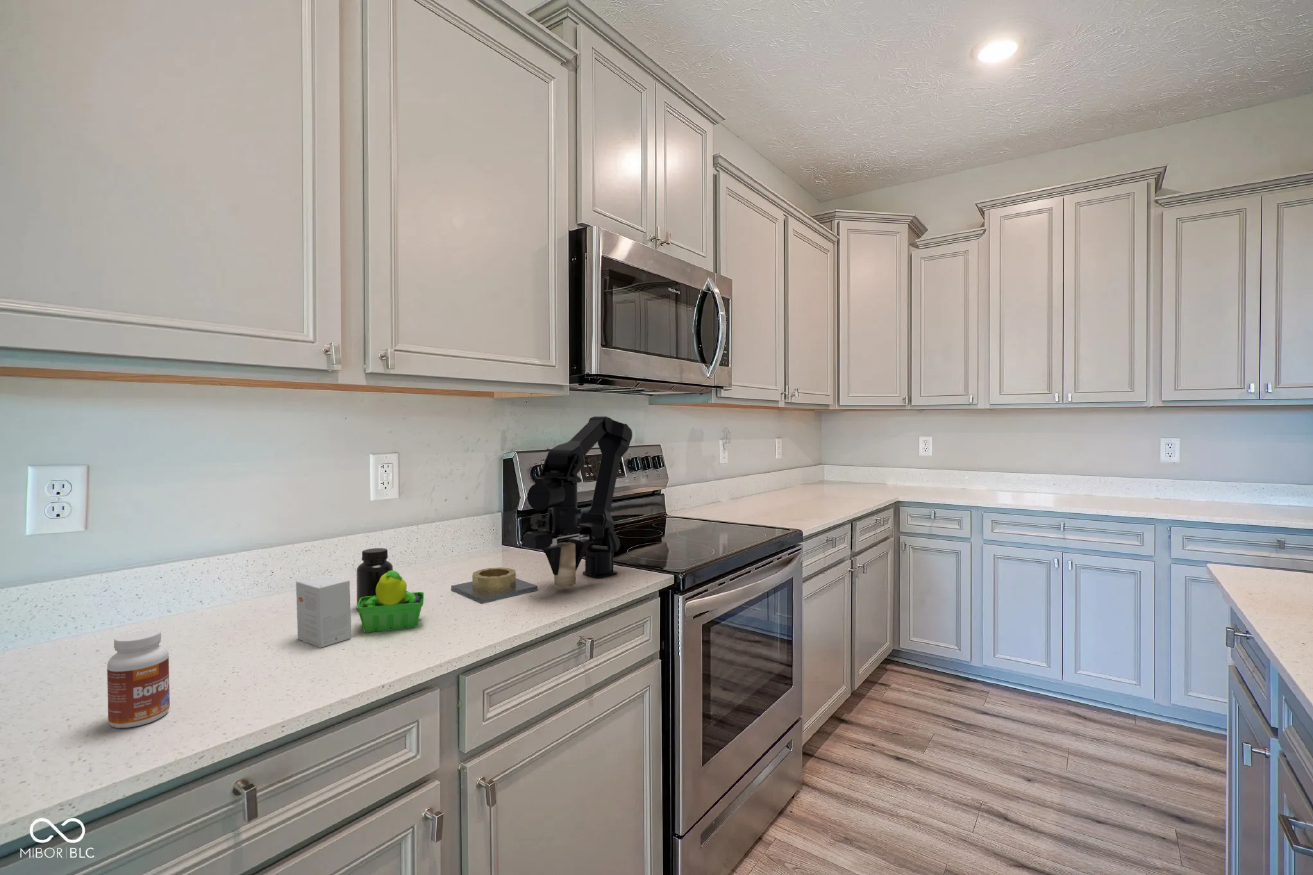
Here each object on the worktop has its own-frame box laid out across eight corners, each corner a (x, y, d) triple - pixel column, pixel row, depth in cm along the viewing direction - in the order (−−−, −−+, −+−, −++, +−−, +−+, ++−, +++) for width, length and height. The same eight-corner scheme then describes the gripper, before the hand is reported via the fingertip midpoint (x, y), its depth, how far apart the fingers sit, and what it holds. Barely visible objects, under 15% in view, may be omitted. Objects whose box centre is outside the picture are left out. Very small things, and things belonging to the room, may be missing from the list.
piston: (567, 580, 140) (567, 541, 140) (580, 583, 137) (579, 544, 137) (550, 584, 137) (549, 544, 137) (562, 588, 134) (562, 547, 133)
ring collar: (505, 578, 148) (505, 562, 148) (537, 590, 138) (537, 572, 138) (451, 590, 138) (450, 572, 138) (481, 603, 128) (481, 584, 128)
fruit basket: (424, 616, 120) (423, 559, 120) (423, 631, 112) (422, 570, 111) (361, 623, 116) (359, 564, 116) (355, 638, 108) (354, 576, 108)
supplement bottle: (383, 613, 122) (382, 553, 121) (350, 612, 122) (349, 553, 122) (399, 602, 129) (398, 546, 128) (367, 602, 129) (366, 546, 128)
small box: (352, 639, 108) (350, 580, 107) (319, 648, 103) (318, 587, 103) (328, 630, 112) (327, 573, 112) (296, 639, 108) (295, 580, 107)
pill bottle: (136, 731, 76) (133, 644, 76) (95, 728, 77) (92, 641, 77) (182, 708, 82) (180, 627, 82) (143, 705, 83) (141, 625, 83)
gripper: (576, 496, 149) (576, 560, 149) (509, 504, 136) (509, 573, 136) (605, 501, 141) (605, 568, 141) (536, 510, 128) (537, 583, 128)
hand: (564, 572), depth 137 cm, fingers closed on piston, 5 cm apart
